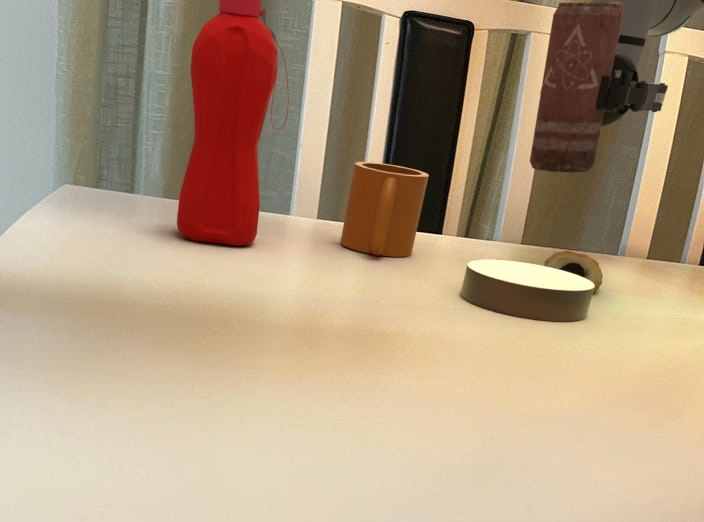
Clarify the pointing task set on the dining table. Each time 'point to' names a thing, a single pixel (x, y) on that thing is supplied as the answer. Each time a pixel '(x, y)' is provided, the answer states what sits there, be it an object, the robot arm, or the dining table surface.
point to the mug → (383, 209)
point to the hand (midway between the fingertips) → (607, 93)
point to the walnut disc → (527, 290)
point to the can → (575, 85)
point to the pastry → (576, 266)
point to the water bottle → (228, 124)
